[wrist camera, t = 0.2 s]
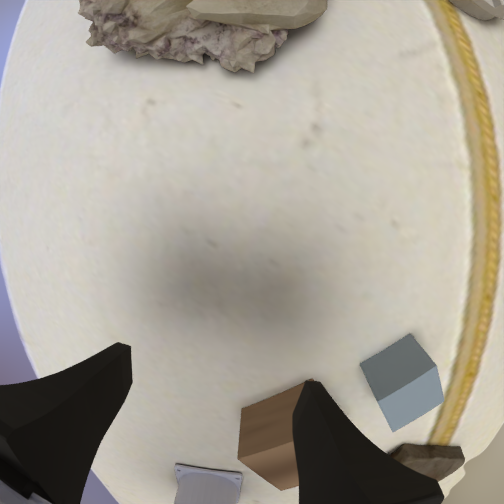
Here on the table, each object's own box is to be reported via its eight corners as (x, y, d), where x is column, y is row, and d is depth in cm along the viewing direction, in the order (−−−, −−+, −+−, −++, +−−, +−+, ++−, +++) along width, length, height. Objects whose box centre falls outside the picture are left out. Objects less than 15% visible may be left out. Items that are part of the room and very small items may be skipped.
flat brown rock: (460, 444, 26) (471, 462, 22) (395, 496, 30) (401, 513, 26) (396, 435, 25) (407, 461, 21) (321, 493, 28) (324, 516, 24)
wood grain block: (341, 419, 24) (354, 465, 18) (279, 444, 25) (281, 490, 19) (312, 377, 22) (323, 428, 16) (241, 407, 23) (237, 458, 17)
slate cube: (421, 368, 22) (444, 401, 17) (376, 395, 23) (392, 432, 18) (409, 332, 21) (436, 365, 16) (359, 363, 22) (377, 401, 17)
